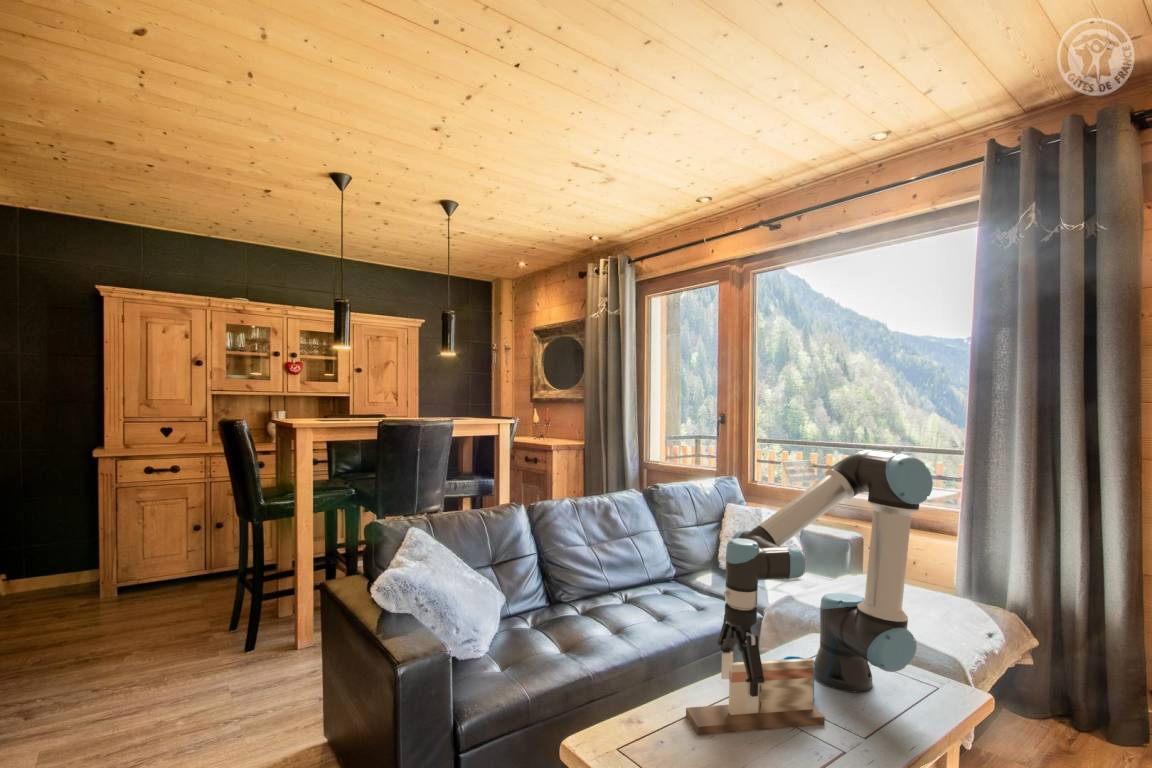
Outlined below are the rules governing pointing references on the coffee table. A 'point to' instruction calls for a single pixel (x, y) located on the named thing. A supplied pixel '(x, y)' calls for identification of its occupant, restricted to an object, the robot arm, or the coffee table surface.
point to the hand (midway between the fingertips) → (738, 692)
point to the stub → (738, 689)
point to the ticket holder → (767, 702)
